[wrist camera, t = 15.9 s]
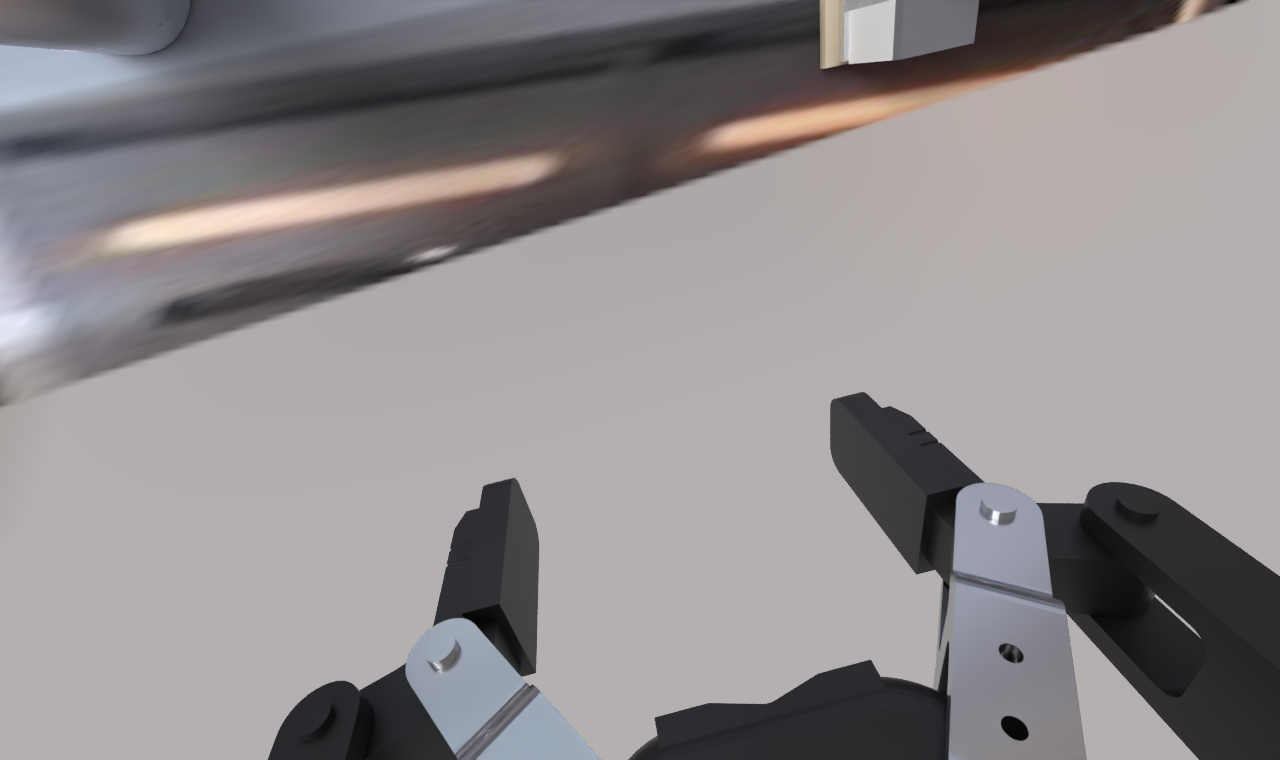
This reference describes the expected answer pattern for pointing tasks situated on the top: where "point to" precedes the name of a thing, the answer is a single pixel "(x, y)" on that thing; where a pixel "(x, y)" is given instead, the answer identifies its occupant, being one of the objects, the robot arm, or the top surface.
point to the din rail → (846, 4)
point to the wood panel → (829, 34)
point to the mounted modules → (910, 28)
